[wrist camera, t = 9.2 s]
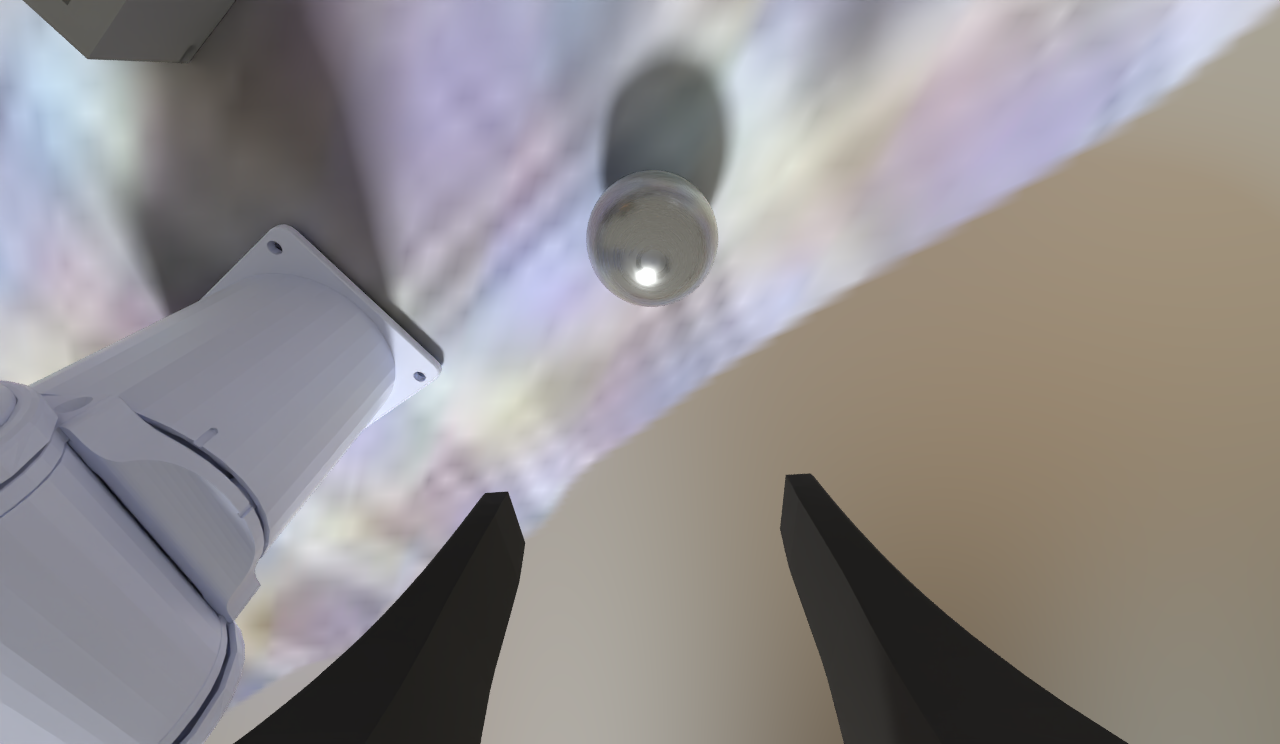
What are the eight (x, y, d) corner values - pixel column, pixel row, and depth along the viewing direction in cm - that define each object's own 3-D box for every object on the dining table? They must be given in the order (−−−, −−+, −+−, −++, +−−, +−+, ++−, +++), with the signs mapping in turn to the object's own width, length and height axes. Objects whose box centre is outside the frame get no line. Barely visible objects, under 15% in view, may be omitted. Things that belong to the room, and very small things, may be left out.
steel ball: (637, 299, 19) (635, 352, 16) (568, 209, 17) (548, 244, 14) (730, 238, 18) (754, 279, 14) (667, 133, 16) (675, 149, 12)
